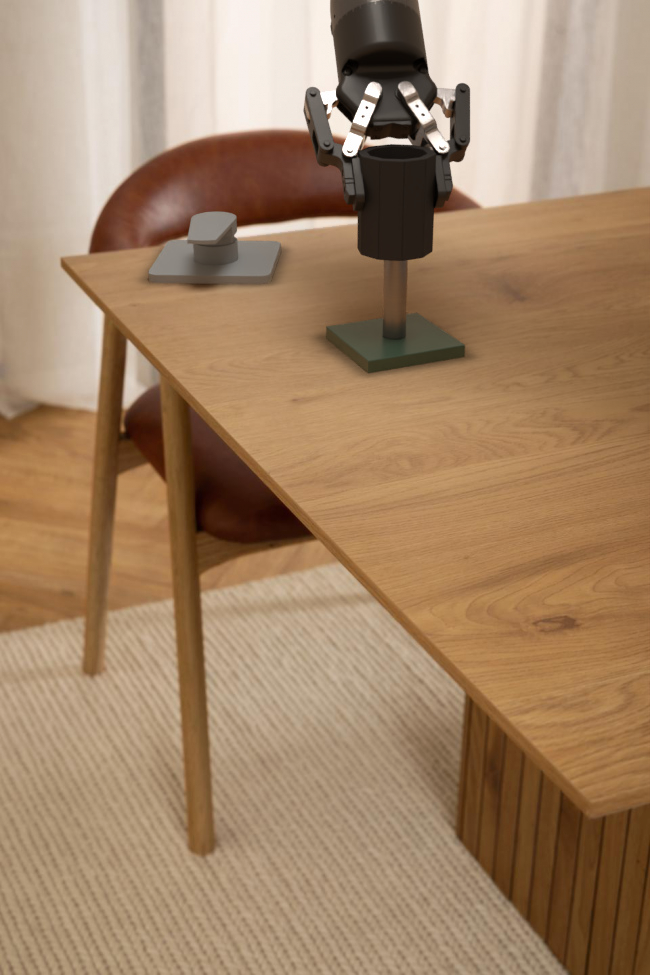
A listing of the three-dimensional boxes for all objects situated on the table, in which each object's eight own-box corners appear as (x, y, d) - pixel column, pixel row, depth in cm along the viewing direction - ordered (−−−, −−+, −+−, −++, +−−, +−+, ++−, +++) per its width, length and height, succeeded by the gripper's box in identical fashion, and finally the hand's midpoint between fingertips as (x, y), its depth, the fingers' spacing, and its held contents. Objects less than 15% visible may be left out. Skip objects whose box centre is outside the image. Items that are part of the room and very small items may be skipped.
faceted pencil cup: (422, 238, 101) (425, 142, 98) (438, 259, 96) (442, 159, 92) (353, 241, 101) (353, 145, 97) (365, 263, 95) (366, 162, 91)
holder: (416, 324, 107) (420, 201, 102) (464, 358, 100) (471, 227, 95) (325, 339, 104) (324, 213, 99) (368, 374, 97) (369, 240, 92)
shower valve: (137, 237, 114) (165, 198, 127) (141, 292, 116) (169, 248, 129) (265, 238, 113) (280, 199, 126) (267, 293, 115) (282, 249, 129)
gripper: (295, -1, 95) (315, 182, 90) (469, -5, 97) (498, 175, 92) (288, 59, 102) (307, 232, 97) (451, 54, 104) (477, 224, 99)
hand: (400, 204), depth 95 cm, fingers closed on faceted pencil cup, 6 cm apart
